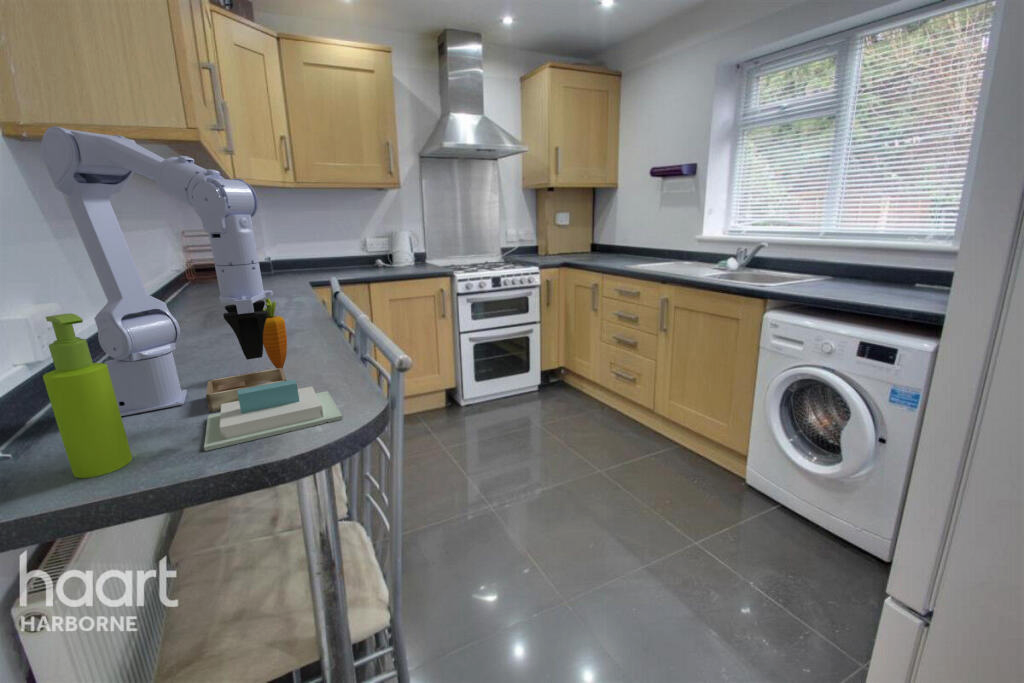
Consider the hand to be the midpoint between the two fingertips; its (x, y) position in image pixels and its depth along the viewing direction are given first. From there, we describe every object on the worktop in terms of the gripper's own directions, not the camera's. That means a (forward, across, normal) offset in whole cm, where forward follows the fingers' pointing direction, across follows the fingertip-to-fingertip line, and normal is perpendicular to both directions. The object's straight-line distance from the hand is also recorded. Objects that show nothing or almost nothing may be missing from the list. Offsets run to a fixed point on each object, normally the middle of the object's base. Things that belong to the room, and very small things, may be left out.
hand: (253, 352), depth 73 cm
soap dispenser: (+10, -8, +19) cm, 23 cm away
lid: (+9, -3, -1) cm, 9 cm away
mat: (+10, -3, -1) cm, 11 cm away
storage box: (+10, +11, +2) cm, 15 cm away
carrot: (+11, +25, -4) cm, 27 cm away
